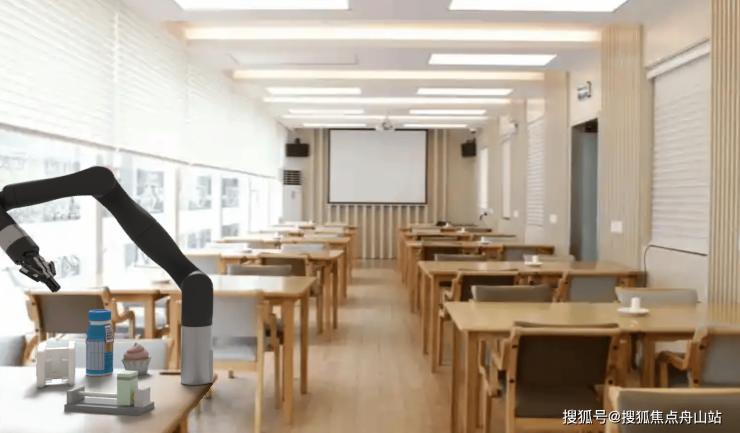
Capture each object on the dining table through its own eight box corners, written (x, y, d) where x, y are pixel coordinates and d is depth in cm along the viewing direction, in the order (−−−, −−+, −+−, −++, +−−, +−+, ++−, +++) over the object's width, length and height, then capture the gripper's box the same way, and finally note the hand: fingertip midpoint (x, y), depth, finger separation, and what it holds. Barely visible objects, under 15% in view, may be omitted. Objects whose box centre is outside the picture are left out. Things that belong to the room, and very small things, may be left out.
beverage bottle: (87, 377, 231) (87, 313, 231) (83, 372, 238) (83, 309, 238) (116, 375, 235) (116, 311, 235) (111, 370, 242) (111, 308, 242)
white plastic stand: (74, 388, 218) (74, 348, 218) (34, 390, 214) (35, 350, 214) (75, 377, 232) (75, 339, 232) (38, 379, 228) (38, 341, 228)
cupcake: (119, 372, 239) (119, 340, 239) (149, 369, 243) (149, 338, 243) (122, 378, 231) (122, 345, 231) (153, 375, 235) (154, 343, 235)
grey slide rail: (64, 410, 193) (64, 387, 193) (82, 402, 201) (82, 380, 201) (138, 415, 189) (139, 392, 189) (154, 407, 197) (154, 384, 197)
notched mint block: (116, 404, 193) (116, 373, 192) (125, 400, 197) (125, 370, 196) (129, 405, 192) (130, 374, 192) (137, 401, 196) (138, 371, 196)
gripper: (9, 235, 199) (51, 283, 197) (41, 234, 212) (80, 278, 210) (-8, 255, 200) (33, 302, 198) (24, 252, 213) (63, 297, 211)
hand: (57, 290), depth 204 cm, fingers closed
